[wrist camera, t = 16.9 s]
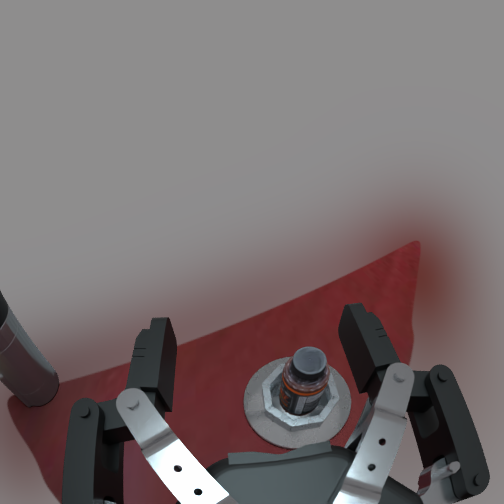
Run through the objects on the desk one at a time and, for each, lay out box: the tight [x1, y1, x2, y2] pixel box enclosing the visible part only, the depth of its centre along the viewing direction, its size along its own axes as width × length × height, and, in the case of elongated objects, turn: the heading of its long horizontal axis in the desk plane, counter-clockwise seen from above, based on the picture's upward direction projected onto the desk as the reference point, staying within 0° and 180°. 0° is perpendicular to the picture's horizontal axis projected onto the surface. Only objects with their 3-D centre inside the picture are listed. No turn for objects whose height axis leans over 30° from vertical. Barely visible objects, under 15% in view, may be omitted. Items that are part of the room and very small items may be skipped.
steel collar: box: [244, 357, 351, 450], centre depth 37 cm, size 16×16×4 cm
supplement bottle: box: [279, 347, 330, 416], centre depth 34 cm, size 6×6×11 cm
